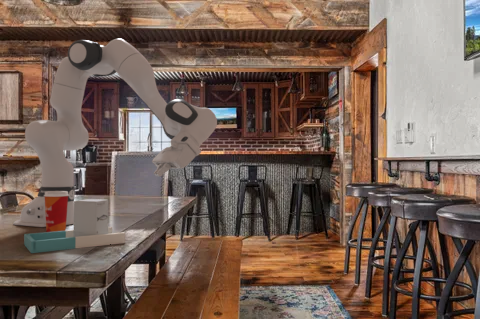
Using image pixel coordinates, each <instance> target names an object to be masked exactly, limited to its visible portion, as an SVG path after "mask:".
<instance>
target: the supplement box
mask: <svg viewBox="0 0 480 319" xmlns="http://www.w3.org/2000/svg"><path fill="white" fill-rule="evenodd" d="M108 227H109V199H106V198H105V199H101V198H99V199H98V198H97V199H96V198H87V199H86V198H85V199H80V200H74V224H73V230H74V234H73V237H79V236H90V235H101V234H108Z"/></svg>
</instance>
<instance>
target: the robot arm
mask: <svg viewBox="0 0 480 319" xmlns="http://www.w3.org/2000/svg"><path fill="white" fill-rule="evenodd" d="M116 73H117V74H118V76H119V77H120V78H121V79H122V80H123V81H124V82H125V83H126V84H127V85H128V86H129V87H130V88H131V89H132V90H133V91H134V92H135V93H136V95H137V96H138V97H139V98H140V99H141V101H143V103H144V104H145V105H146V106H147V108H148V109H149V110H150V111H151V113H152V114H153V116H155V117H156V118H157V120H158V121H159V122H160V124H161V126H162V129H163V132H164V134H165V136H166V137H167V138H168V139H170V146H166V147H164V148H163V149H162V150H161V151H160V152H159V153H158V154H157V155H156V156H155V157H153V159H152V160H151V163H152V164H153V165H154V166H155V167H156V169H155V171H154V172H153V175H154V176H155V177H160V178H161V177H162V176H164V174H166V173H167V172H168V171H170V169H176V170H177V169H178V170H179V169H184V168H185V167H187V166H188V165H189V164H190V163H191V162H192V161H193V160H194V159H195V158H196V157H197V156H199V155H200V154H201V153H202V150H201V149H200V147H201V145H202V144H203V143H205V141H207V140H208V139H209V137H210V136H211V135H213V133H214V131H215V130H216V128H217V125H218V119H217V116H216V115H215V113H214V112H213V111H212V110H211V109H210V108H208V107H199V106H196V105H194V104H192V103H189V101H186V100H184V99H181V98H176V99H172V100H170V101H168V102H166V100H165V99H164V98H163V96H162V95H161V94H160V92H159V90H158V87H157V82H156V77H155V73H154V69H153V67H152V65H151V64H150V62H149V61H148V60H147V58H146V57H145V56H144V55H143V54H142V53H141V52H140V51H139V50H138V49H136V47H135V46H133V45H132V44H131V43H129V42H127V40H125V39H123V38H115V39H112V40H110V41H109V42H108V43H107V45H103V44H100V43H99V42H96V41H95V42H94V41H92V40H86V39H78V40H75V41H73V42H72V43H71V44H70V45H69V47H68V49H67V56H66V57H63V58H61V61H60V63H59V65H58V67H57V69H56V73H55V76H54V79H53V84H52V88H51V94H50V99H49V103H50V105H51V108H53V109H54V110H55V111H56V112H55V113H56V117H57V118H56V119H57V120H49V119H39V120H33V121H31V122H30V123H29V124H27V126H26V127H25V131H24V138H25V142H26V143H27V144H28V145H29V146H30V147H31V148H32V149H33V150H34V151H35V153H36V154H37V157H38V159H39V162H40V165H41V186H40V187H39V188H35V189H34V190H35V193H37V196H36V197H35V198H34V199H32V200H31V201H30V202H29V203H27V204H26V205H24V206H23V207H22V209H21V212H20V219H17V220H15V221H13V225H14V226H15V225H16V226H27V227H36V228H46V215H45V196H44V195H45V192H47V191H68V194H69V196H68V205H67V219H66V226H68V225H74V201H75V198H76V197H75V196H76V195H75V194H76V188H75V184H74V181H75V180H74V179H75V178H74V177H75V176H74V174H75V173H74V171H75V170H74V169H75V168H74V165H73V164H72V162H70V161H69V160H68V159H67V158H66V155H65V152H64V151H76V150H81V149H83V148H85V147H86V146H87V144H88V143H89V141H90V140H89V139H90V138H89V137H90V135H89V131H88V129H87V128H86V126H85V125H84V123H83V118H82V105H83V101H84V100H83V99H84V95H85V91H86V85H87V82H88V79H89V77H91V76H93V77H95V78H96V77H109V76H112V75H114V74H116Z"/></svg>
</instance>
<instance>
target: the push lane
mask: <svg viewBox="0 0 480 319" xmlns="http://www.w3.org/2000/svg"><path fill="white" fill-rule="evenodd" d="M73 234H74V229H69V230H66V231H55V232H45V231H44V232H43V231H42V232H34V233H24V234H23V235H24V236H23V239H24V241H23V246H25V248H27V251H29V252H30V254H35V253H36V254H37V253H45V252H55V251H56V252H57V251H64V250H72V249H83V248H91V247H101V246H102V247H103V246H108V245H109V246H110V244H111V245H118V244H119V245H120V244H126V232H124V231H123V232H114V233H113V226H108V234H101V235H90V236H79V237H73Z"/></svg>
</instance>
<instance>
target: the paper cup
mask: <svg viewBox="0 0 480 319" xmlns="http://www.w3.org/2000/svg"><path fill="white" fill-rule="evenodd" d="M44 196H45V215H46V227H45V230H46V232H55V231H67V230H66V229H67V228H66V227H67V225H66V219H67V205H68V196H69V194H68V191H47V192H45V195H44Z"/></svg>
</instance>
